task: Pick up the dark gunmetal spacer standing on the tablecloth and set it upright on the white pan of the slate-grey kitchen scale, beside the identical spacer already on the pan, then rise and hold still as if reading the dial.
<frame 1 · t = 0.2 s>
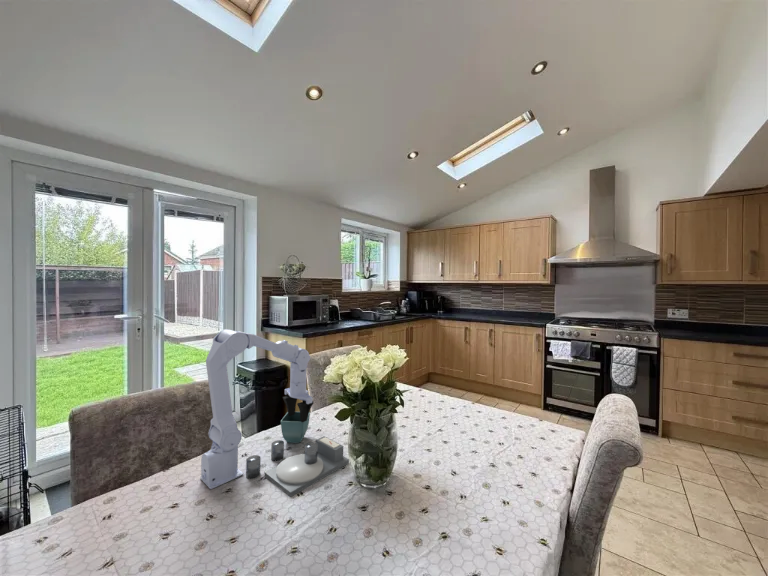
hand: (297, 418, 114), 10 cm above the table, fingers open, 7 cm apart
spacer 2: (277, 457, 106), on the table
spacer 3: (253, 475, 96), on the table
scale: (308, 469, 99), on the table
spacer 1: (310, 461, 100), point 2 cm above the table, touching scale
flower pot: (295, 440, 118), on the table
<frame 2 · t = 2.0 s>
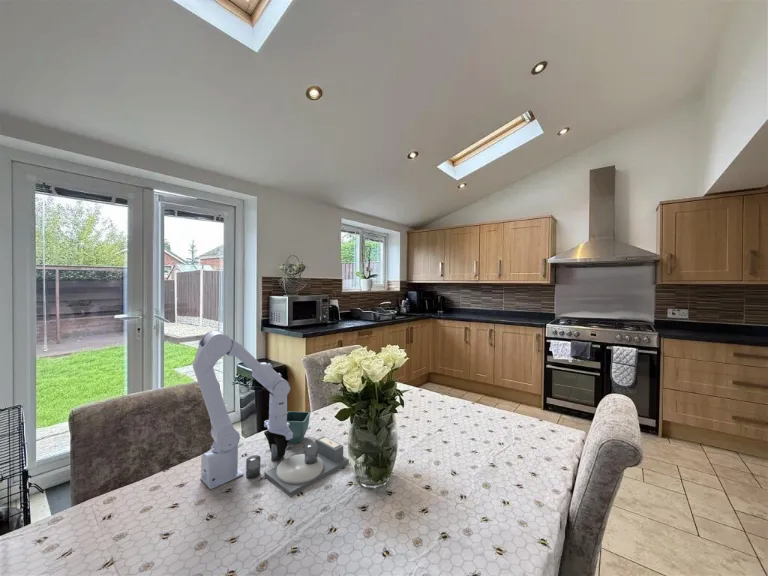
hand: (277, 453, 106), 1 cm above the table, fingers closed on spacer 2, 4 cm apart
spacer 2: (277, 457, 106), on the table, touching gripper
everything else where it was.
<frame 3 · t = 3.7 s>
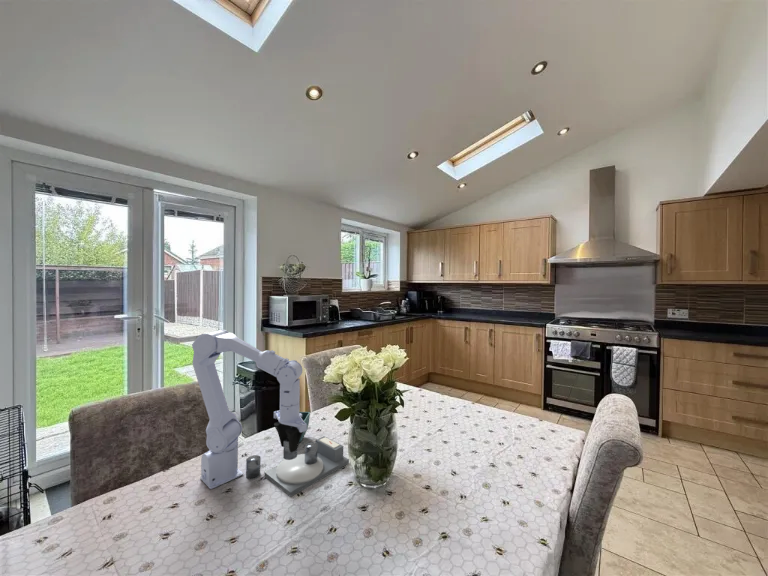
hand: (289, 448, 94), 9 cm above the table, fingers closed on spacer 2, 4 cm apart
spacer 2: (290, 456, 95), point 7 cm above the table, touching gripper
everything else where it was.
when the fingers open (5 cm above the table, at t = 5.0 s): spacer 2 stays where it is, resting on scale.
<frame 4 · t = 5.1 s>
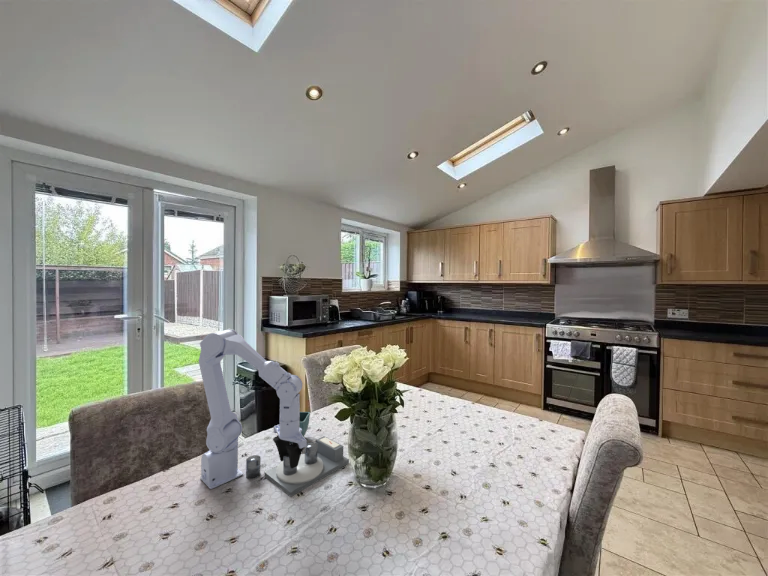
hand: (289, 463, 94), 5 cm above the table, fingers open, 5 cm apart
spacer 2: (290, 471, 94), point 2 cm above the table, touching scale
everything else where it was.
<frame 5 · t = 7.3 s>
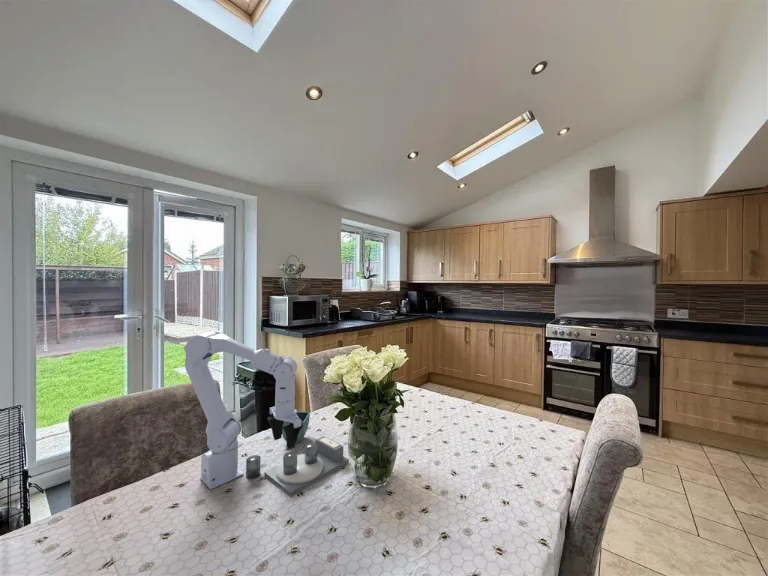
hand: (284, 443, 96), 10 cm above the table, fingers open, 7 cm apart
nothing on the table moved.
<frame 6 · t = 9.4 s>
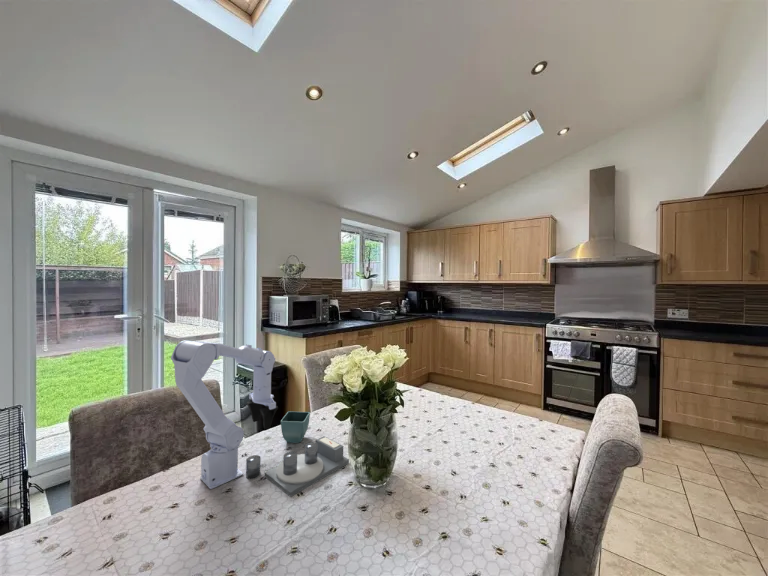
hand: (261, 424, 109), 10 cm above the table, fingers open, 7 cm apart
nothing on the table moved.
at the end: spacer 2 inside the target area on the scale (3.3 cm from its centre), point 2.2 cm above the scale's base; spacer 2 tilted 0°; spacer 1 inside the target area on the scale (3.8 cm from its centre), point 2.2 cm above the scale's base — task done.
